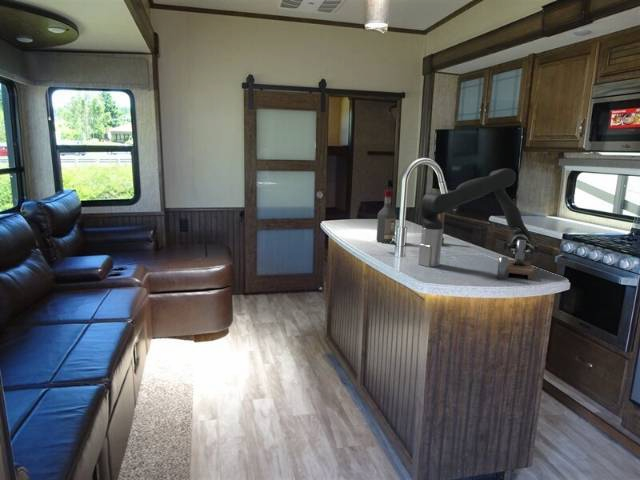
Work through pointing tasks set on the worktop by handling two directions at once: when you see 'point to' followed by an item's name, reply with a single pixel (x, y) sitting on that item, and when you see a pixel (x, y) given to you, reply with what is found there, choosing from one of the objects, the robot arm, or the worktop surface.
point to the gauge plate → (519, 269)
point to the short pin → (502, 268)
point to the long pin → (520, 253)
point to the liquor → (386, 221)
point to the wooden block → (441, 218)
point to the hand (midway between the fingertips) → (520, 249)
